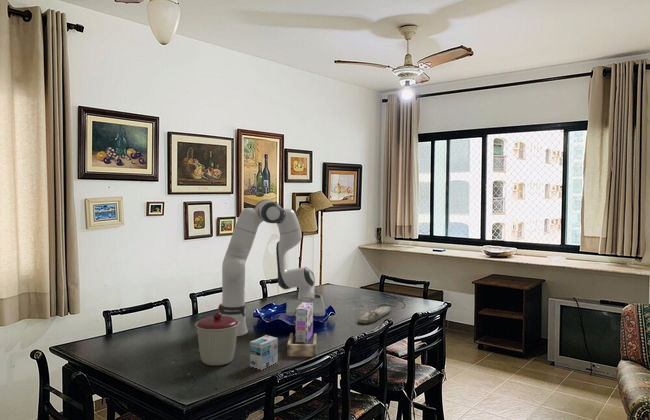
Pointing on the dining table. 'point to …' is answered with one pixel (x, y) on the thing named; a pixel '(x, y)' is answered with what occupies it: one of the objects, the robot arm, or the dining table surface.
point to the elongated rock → (374, 315)
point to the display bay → (301, 347)
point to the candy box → (303, 322)
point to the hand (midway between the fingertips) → (305, 322)
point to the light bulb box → (263, 352)
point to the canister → (217, 339)
